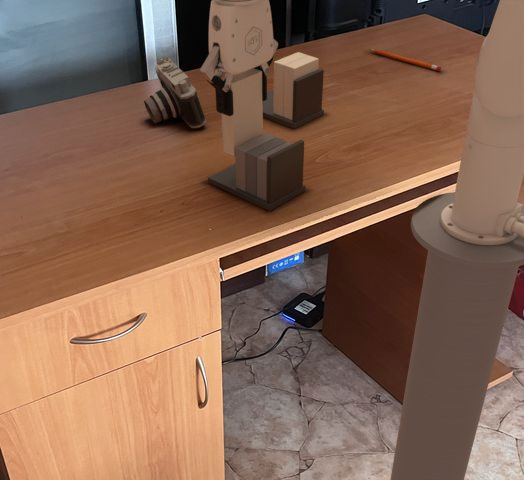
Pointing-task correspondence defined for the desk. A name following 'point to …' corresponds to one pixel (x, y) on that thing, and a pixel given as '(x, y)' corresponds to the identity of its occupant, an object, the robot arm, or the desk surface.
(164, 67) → the camera
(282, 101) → the dark bookend stand
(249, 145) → the grey rack
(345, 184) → the desk surface
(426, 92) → the desk surface
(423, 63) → the pencil
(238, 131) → the white book
